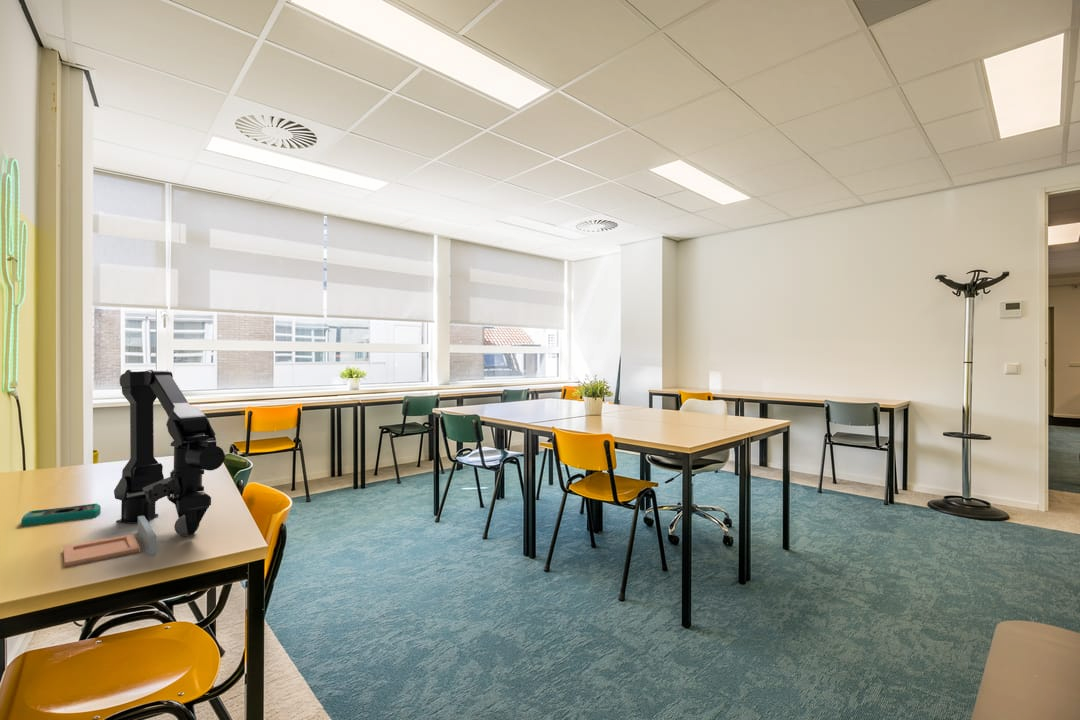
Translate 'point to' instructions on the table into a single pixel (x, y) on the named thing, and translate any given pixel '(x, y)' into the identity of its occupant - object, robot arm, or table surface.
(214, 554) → the table surface
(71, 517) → the digital multimeter
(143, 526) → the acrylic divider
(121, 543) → the pad
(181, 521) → the rubber ball
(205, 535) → the table surface
